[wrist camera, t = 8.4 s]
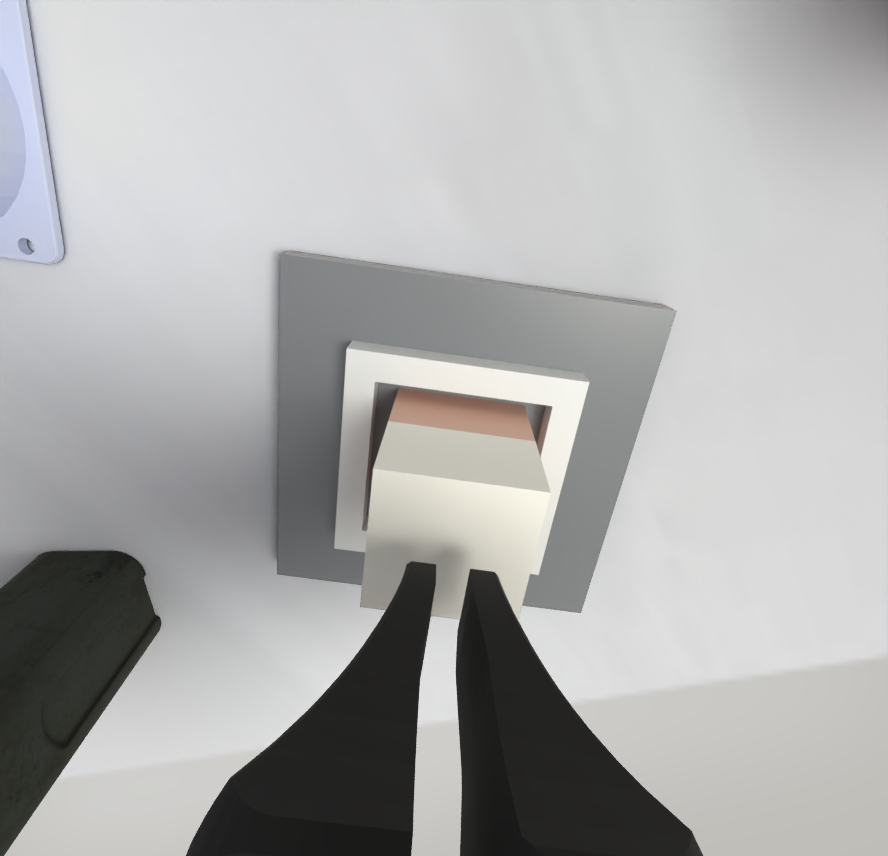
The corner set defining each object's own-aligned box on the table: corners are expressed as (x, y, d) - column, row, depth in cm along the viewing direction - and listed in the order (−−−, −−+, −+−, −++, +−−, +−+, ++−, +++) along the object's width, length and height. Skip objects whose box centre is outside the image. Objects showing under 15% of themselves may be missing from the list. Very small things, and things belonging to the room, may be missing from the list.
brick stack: (387, 496, 20) (360, 606, 15) (398, 387, 19) (373, 468, 13) (501, 511, 21) (516, 626, 15) (524, 404, 19) (550, 492, 13)
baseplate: (284, 559, 23) (269, 590, 21) (289, 250, 18) (269, 256, 16) (575, 596, 23) (585, 630, 22) (665, 305, 18) (688, 317, 16)
